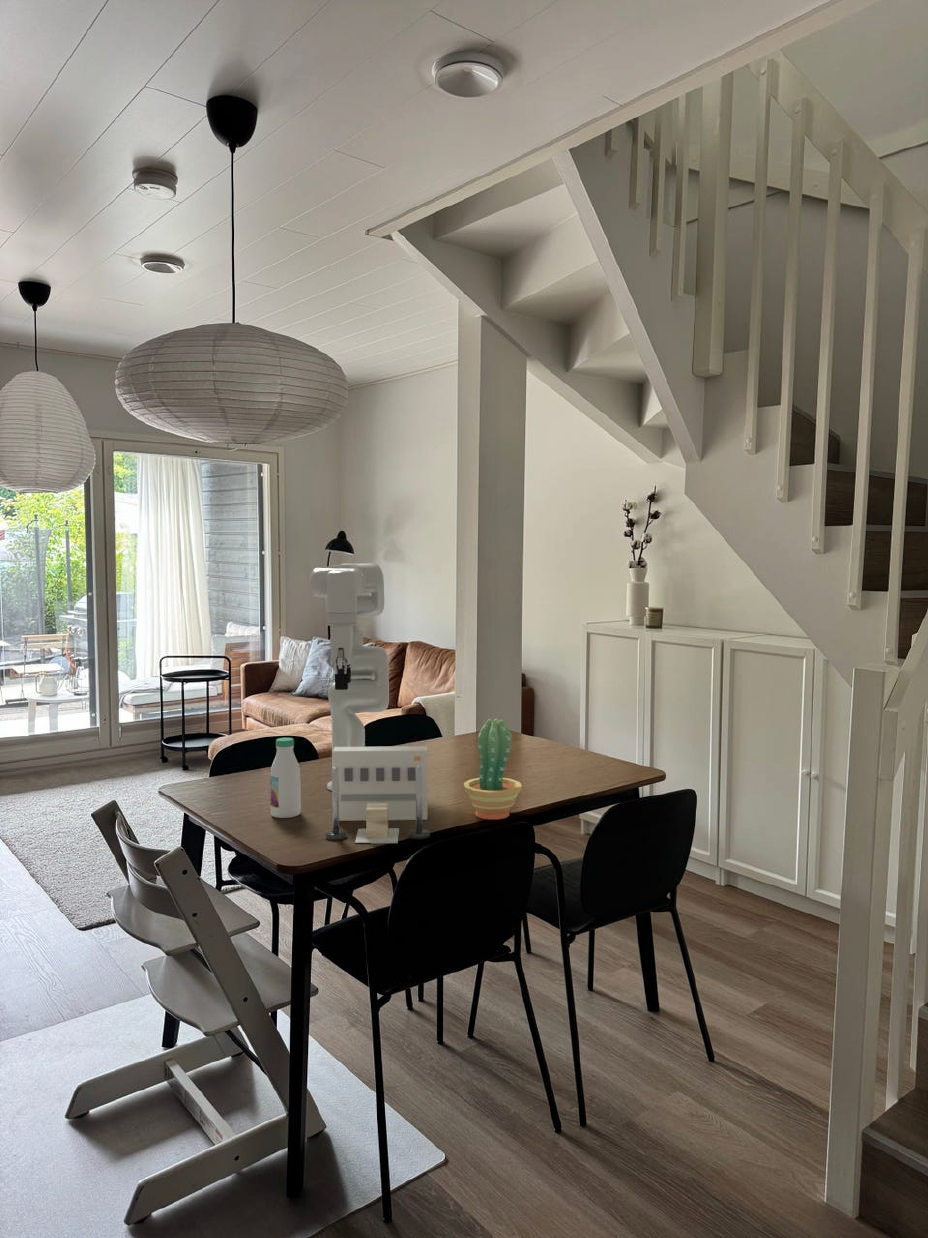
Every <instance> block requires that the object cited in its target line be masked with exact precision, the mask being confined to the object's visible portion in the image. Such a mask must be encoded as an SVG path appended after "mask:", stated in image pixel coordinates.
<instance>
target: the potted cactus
mask: <svg viewBox="0 0 928 1238" xmlns="http://www.w3.org/2000/svg"><path fill="white" fill-rule="evenodd" d="M512 738H513V734H512V732H511V731H510V729H509V727H508V726H507V723H505V721H504V720H503V719H498V718H494V719H491V718H488V719H487V720H486V722H485V723H484V724H483V726H482V727H481V729H480V731H479V733H478V735H477V746H478V747H477V748H478V750H477V751H478V754H479V755H478V756H479V760H480V766H479V767H480V769H479V777H477V778H472V779H468V780H466V781H465V782H463V786H464V787H463V788H464V791H465V793H466V794H467V795H468V797H469V801H470V804H471V805H472V806H473V808H474V809H475V816H476V817H478V818H480V819H485V820H501V819H502V820H503V819H507V818H508V817H510V812H509V811H510V810H511V809H512V807H513V806H514V804H515V803H516V801H517V797H518V795H519V794H520V793H521V791H522V786H523V785H522V783H521V782H520V781H518V780H515V779H512V778H509V777H507V778H506V777H504V774H505V770H506V765H507V760H508V758H509V755H510V753H511V751H512V743H513V742H512V741H513V740H512Z"/></svg>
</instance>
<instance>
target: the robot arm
mask: <svg viewBox="0 0 928 1238" xmlns="http://www.w3.org/2000/svg"><path fill="white" fill-rule="evenodd" d="M384 581H385V578H384V573H383V571H382V569H381V567H380V566H379V565H378V564H376V563H373V562H372V563H366V562H365V563H364V562H362V563H361V562H360V563H359V562H358V563H357V562H356V563H355V562H354V563H353V562H352V563H351V562H349V563H347V562H346V563H341V564H336V565H329V566H320V567H315V568H313V570H312V571H311V573H310V576H309V588H310V591H311V593H312V595H313V596H314V597H316V598H325V608H326V616H327V619H326V621H327V622H326V623H327V624H326V625H327V626H330V628H331V629H330V659H329V660H330V665H331V666H334V672H335V673H334V682H333V683H331V684H330V685H329V688H328V691H327V692H328V693H327V698H328V703H329V709H330V717H331V718H330V719H331V763H332V764H331V765H332V766H331V768H332V767H333V750H334V748H335V747H366V743H365V741H366V738H365V737H366V733H365V732H366V730H365V725H364V723H363V722H362V720H361V719H360V718H359V717H358V715H356V714H359V713H382V712H385V711H386V710H387V709H388V707H389V702H390V676H389V674H390V673H389V670H390V669H389V657H388V653H387V651H386V649H385V648H384V647H381V646H375V645H374V646H370V645H369V646H364V634H363V630H362V629H361V628H360V627H359V625H358V617H376V616H380V615H381V614H382V613H383V612H384V609H385V583H384ZM326 788H327V790H328V791H331V792H332V780H330V781H329V782H327V783H326Z"/></svg>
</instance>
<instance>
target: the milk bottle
mask: <svg viewBox="0 0 928 1238" xmlns="http://www.w3.org/2000/svg"><path fill="white" fill-rule="evenodd" d="M294 745H295V740H294V738H293V737H279V738H277V739H275V748H276V754H275V757H274V759H273V762H272V765H271V767H270V774H269V775H270V778H269V779H270V788H269V789H270V792H269V793H270V814H271V816H272V817H274V818H278V819H289V818H295V817H298V816H299V815H300V814H301V811H302V799H301V797H302V793H301V788H302V787H301V769H300V768H301V767H300V765H299V762H298V760H297V758H296V755H295V752H294V748H295V746H294Z"/></svg>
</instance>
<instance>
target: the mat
mask: <svg viewBox="0 0 928 1238" xmlns="http://www.w3.org/2000/svg"><path fill="white" fill-rule="evenodd" d="M399 834H400V827H398V828H397V827H396V828H395V827H394V828H391V827H390V828H389V827H388V838H366V828H358V829H357V833H356V836H355V841H354V844H355V843H371V844H373V845H374V844H398V842H399V836H400V835H399ZM371 844H370V845H371Z"/></svg>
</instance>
